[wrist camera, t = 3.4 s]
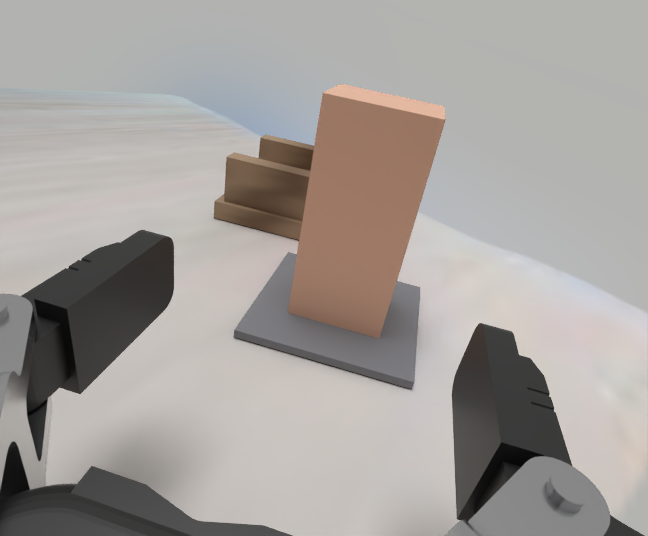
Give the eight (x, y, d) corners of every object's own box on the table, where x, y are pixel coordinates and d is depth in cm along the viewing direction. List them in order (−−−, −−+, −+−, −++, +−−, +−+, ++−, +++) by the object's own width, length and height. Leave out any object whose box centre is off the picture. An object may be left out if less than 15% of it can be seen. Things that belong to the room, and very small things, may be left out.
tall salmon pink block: (287, 312, 21) (322, 92, 16) (306, 277, 24) (341, 83, 19) (379, 338, 20) (445, 119, 15) (386, 299, 23) (443, 106, 18)
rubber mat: (234, 336, 19) (234, 330, 19) (287, 258, 26) (288, 252, 26) (411, 389, 18) (414, 382, 18) (418, 293, 25) (420, 287, 25)
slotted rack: (213, 217, 29) (216, 156, 27) (256, 183, 36) (261, 132, 34) (343, 251, 28) (356, 190, 26) (361, 209, 35) (373, 158, 33)
